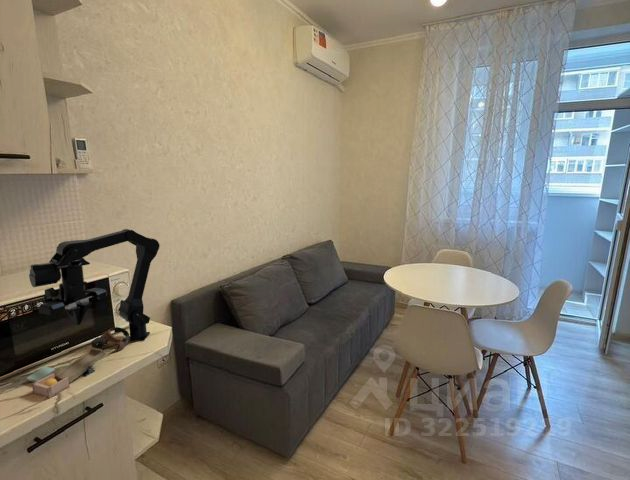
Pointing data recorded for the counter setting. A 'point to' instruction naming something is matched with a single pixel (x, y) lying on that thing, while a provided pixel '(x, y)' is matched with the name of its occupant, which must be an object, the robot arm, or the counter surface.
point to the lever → (70, 367)
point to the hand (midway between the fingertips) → (77, 324)
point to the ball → (50, 382)
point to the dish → (49, 387)
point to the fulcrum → (88, 372)
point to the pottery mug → (111, 339)
